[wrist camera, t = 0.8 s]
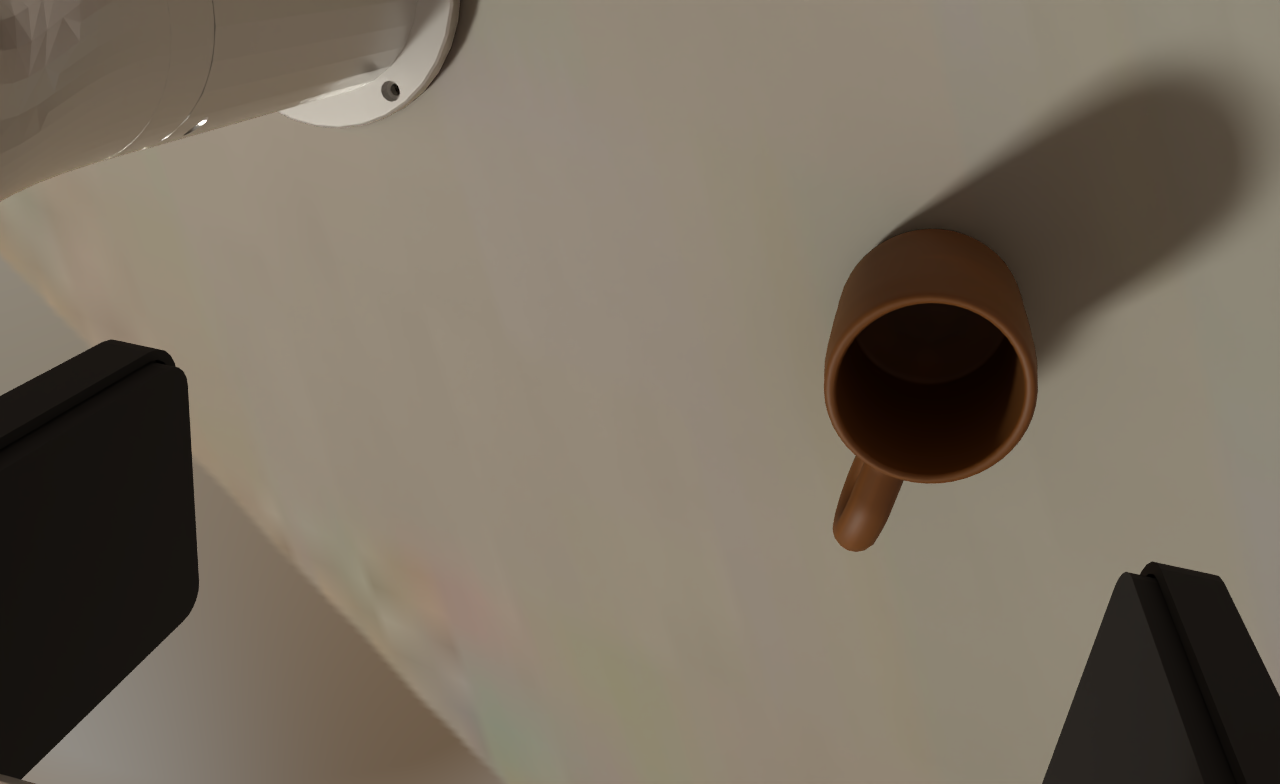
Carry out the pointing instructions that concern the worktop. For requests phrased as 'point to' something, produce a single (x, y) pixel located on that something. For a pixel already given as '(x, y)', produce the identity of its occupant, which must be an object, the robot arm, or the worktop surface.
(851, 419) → the mug
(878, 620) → the worktop surface
